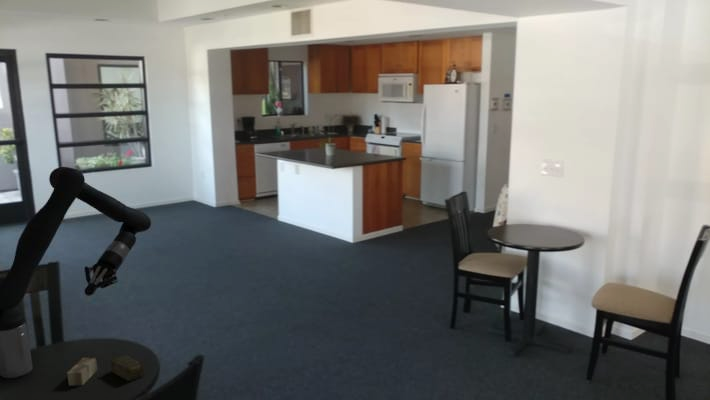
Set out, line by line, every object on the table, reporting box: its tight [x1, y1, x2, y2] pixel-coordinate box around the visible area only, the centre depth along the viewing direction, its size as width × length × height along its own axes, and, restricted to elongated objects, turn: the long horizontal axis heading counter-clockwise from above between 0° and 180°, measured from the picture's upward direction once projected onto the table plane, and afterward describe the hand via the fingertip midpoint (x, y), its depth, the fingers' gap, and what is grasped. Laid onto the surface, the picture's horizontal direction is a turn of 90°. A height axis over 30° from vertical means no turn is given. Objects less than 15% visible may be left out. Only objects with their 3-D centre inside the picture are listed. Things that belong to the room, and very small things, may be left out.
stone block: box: [110, 355, 144, 382], centre depth 187 cm, size 6×12×5 cm, turn 54°
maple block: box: [66, 357, 98, 386], centre depth 186 cm, size 4×4×10 cm
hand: (87, 294), depth 194 cm, fingers closed
